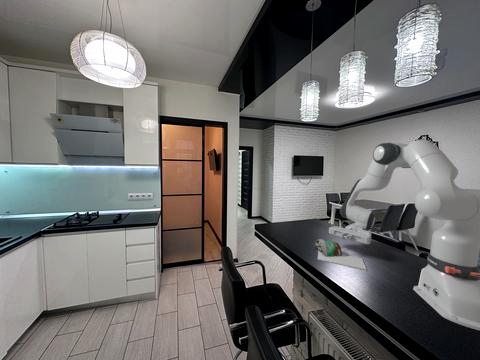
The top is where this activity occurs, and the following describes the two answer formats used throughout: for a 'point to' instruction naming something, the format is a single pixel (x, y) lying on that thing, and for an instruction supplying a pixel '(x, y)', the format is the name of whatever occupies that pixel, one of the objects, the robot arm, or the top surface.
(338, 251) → the food container
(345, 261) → the rubber mat
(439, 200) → the robot arm
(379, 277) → the top surface
